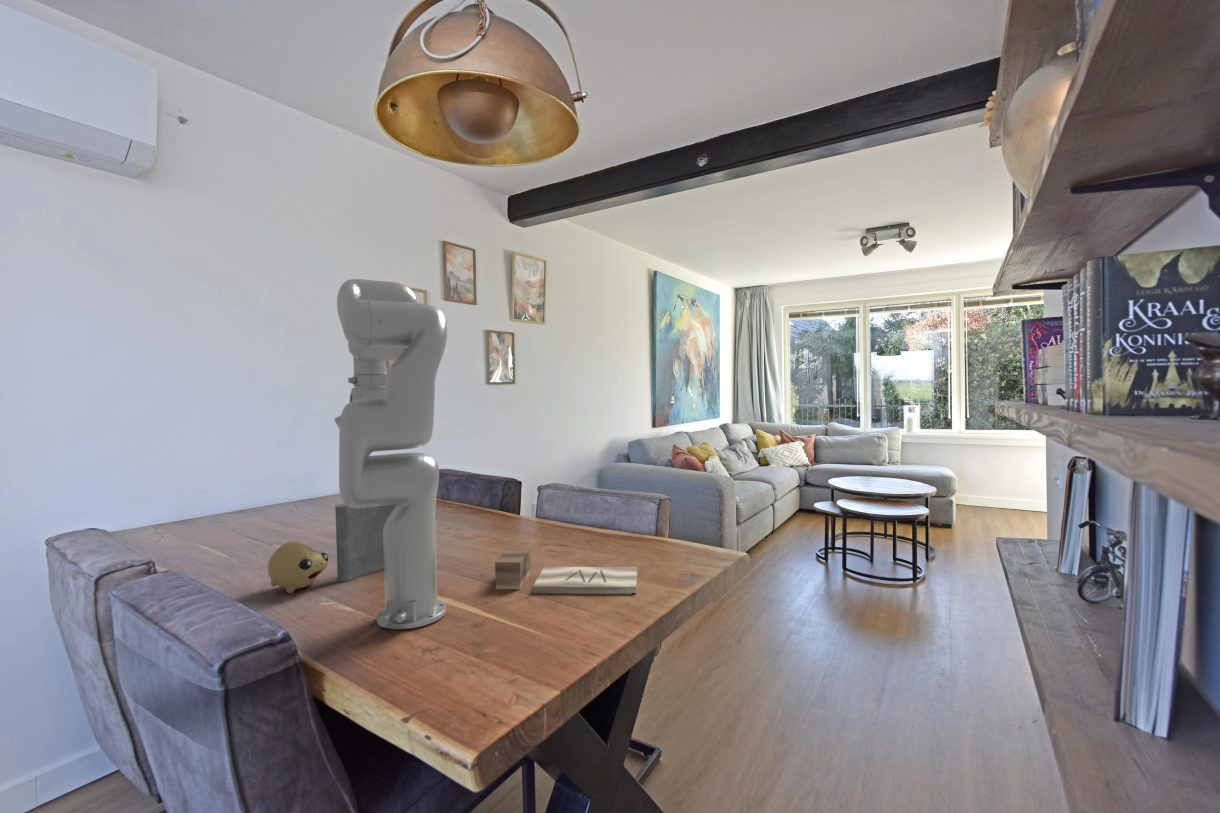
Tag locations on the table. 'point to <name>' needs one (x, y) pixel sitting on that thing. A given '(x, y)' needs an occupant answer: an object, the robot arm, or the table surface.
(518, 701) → the table surface
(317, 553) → the yellow round soft figure
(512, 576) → the block
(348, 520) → the hip flask
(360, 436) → the robot arm
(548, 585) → the birch board
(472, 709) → the table surface
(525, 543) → the table surface
